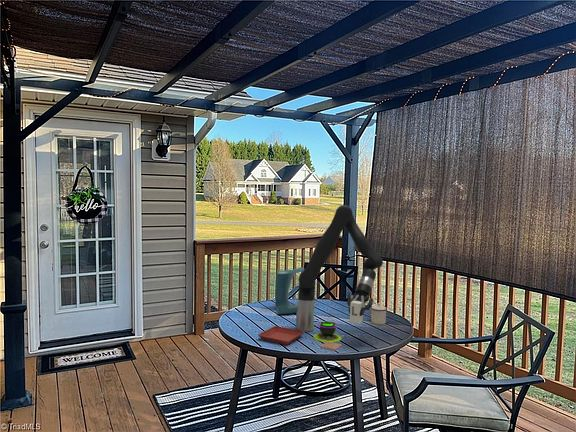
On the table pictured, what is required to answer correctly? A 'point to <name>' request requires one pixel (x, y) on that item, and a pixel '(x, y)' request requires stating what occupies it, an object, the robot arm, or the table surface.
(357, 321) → the plain off-white block
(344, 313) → the table surface
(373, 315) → the teacup with lid
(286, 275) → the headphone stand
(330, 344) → the coaster
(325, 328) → the toy cauldron
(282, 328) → the plant saucer
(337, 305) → the table surface
